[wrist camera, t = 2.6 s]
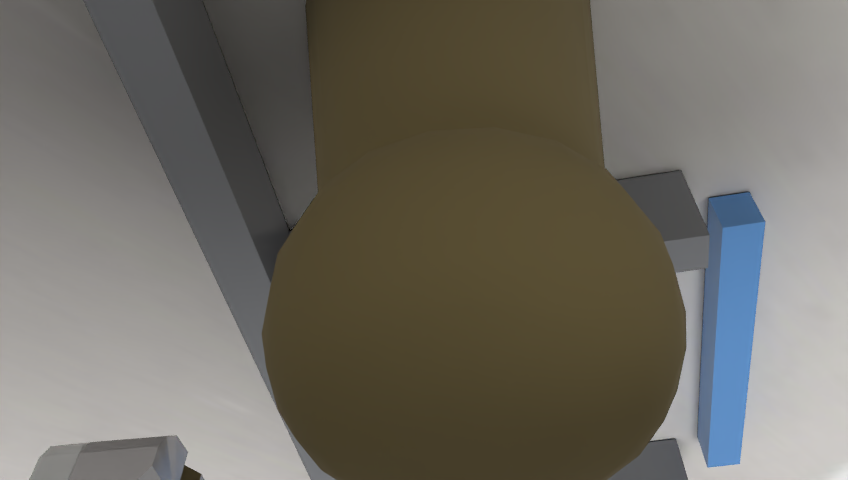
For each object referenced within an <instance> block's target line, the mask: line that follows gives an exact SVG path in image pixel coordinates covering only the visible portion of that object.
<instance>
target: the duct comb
mask: <svg viewBox="0 0 848 480" xmlns="http://www.w3.org/2000/svg"><path fill="white" fill-rule="evenodd" d="M83 1H84V3H85V5H86V7H87V9H88V11H89V14H90V16H91V18H92V20H93V22H94V24H95V26H96V28H97V30H98V32H99V35H100V37H101V39H102V41H103V43H104V45H105V47H106V49H107V51H108V54H109V56H110V58H111V60H112V62H113V64H114V66H115V68H116V70H117V72H118V75H119V77H120V79H121V81H122V83H123V85H124V87H125V89H126V91H127V94H128V96H129V98H130V100H131V102H132V104H133V106H134V108H135V110H136V112H137V115H138V117H139V119H140V121H141V123H142V125H143V127H144V129H145V131H146V134H147V136H148V138H149V140H150V142H151V144H152V146H153V148H154V150H155V152H156V155H157V157H158V159H159V161H160V163H161V165H162V167H163V169H164V171H165V173H166V176H167V178H168V180H169V182H170V184H171V186H172V188H173V190H174V192H175V195H176V197H177V199H178V201H179V203H180V205H181V207H182V209H183V211H184V213H185V216H186V218H187V220H188V222H189V224H190V226H191V228H192V230H193V232H194V235H195V237H196V239H197V241H198V243H199V245H200V247H201V249H202V251H203V253H204V256H205V258H206V260H207V262H208V264H209V266H210V268H211V270H212V272H213V275H214V277H215V279H216V281H217V283H218V285H219V287H220V289H221V291H222V293H223V296H224V298H225V300H226V302H227V304H228V306H229V308H230V310H231V312H232V315H233V317H234V319H235V321H236V323H237V325H238V327H239V329H240V331H241V333H242V336H243V338H244V340H245V342H246V344H247V346H248V348H249V350H250V352H251V355H252V357H253V359H254V361H255V363H256V365H257V367H258V369H259V371H260V373H261V376H262V378H263V380H264V382H265V384H266V386H267V388H268V390H269V392H270V395H271V397H272V399H273V401H274V403H275V405H276V402H275V398H274V394H273V391H272V387H271V384H270V380H269V376H268V373H267V369H266V363H265V356H264V348H263V341H262V328H263V323H264V318H265V312H266V307H267V302H268V296H269V291H270V286H271V281H272V277H273V272H274V268H275V263H276V259H277V254H278V252H279V250H280V249H281V247H282V246H283V244H284V243H285V241H286V239H287V238H288V236H289V235H290V233H291V232H292V231H289V230H288V227H287V224H286V222H285V219H284V216H283V214H282V211H281V209H280V206H279V203H278V201H277V198H276V195H275V193H274V190H273V187H272V185H271V182H270V179H269V177H268V174H267V171H266V169H265V166H264V163H263V161H262V158H261V156H260V153H259V150H258V148H257V145H256V142H255V140H254V137H253V134H252V132H251V129H250V126H249V124H248V121H247V118H246V116H245V113H244V110H243V108H242V105H241V103H240V100H239V97H238V95H237V92H236V89H235V87H234V84H233V81H232V79H231V76H230V73H229V71H228V68H227V65H226V63H225V60H224V57H223V55H222V52H221V49H220V47H219V44H218V42H217V39H216V36H215V34H214V31H213V28H212V26H211V23H210V20H209V18H208V15H207V12H206V10H205V7H204V4H203V2H202V0H83ZM616 181H617V182H618V183H619V184H620V185H621V186H622V187H623V188H624V189H625V191H626V192H627V193H628V194H629V195H630V197H631V198H632V199H633V200H634V201H635V203H636V204H637V205H638V206H639V207H640V209H641V210H642V211H643V212H644V213H645V215H646V216H647V217H648V218H649V219H650V221H651V222H652V223H653V224H654V225H655V227H656V228H657V229H658V230H659V232H660V233H661V235H662V238H663V240H664V243H665V245H666V248H667V250H668V253H669V255H670V258H671V260H672V263H673V266H674V270H675V273H676V272H683V271H690V270H697V269H704V268H705V287H704V308H703V329H702V351H701V372H700V393H699V414H698V435H697V437H698V440H699V443H700V446H701V449H702V452H703V455H704V458H705V461H706V464H707V467H716V466H725V465H734V464H740V456H741V447H742V437H743V428H744V418H745V409H746V399H747V390H748V380H749V371H750V361H751V352H752V343H753V333H754V324H755V314H756V305H757V295H758V286H759V276H760V267H761V257H762V248H763V238H764V229H765V220H764V218H763V217H762V215H761V213H760V211H759V209H758V207H757V205H756V204H755V202H754V200H753V198H752V196H751V194H750V192H746V193H740V194H733V195H726V196H720V197H713V198H709V203H708V224H707V228H706V225H705V223H704V221H703V219H702V216H701V214H700V212H699V209H698V207H697V205H696V203H695V200H694V198H693V196H692V194H691V191H690V189H689V187H688V185H687V182H686V180H685V178H684V176H683V173H682V171H675V172H668V173H662V174H655V175H649V176H642V177H636V178H629V179H623V180H616ZM276 407H277V405H276ZM280 416H281V414H280ZM281 418H282V416H281ZM282 420H283V422H284V424H285V426H286V428H287V430H288V432H289V435H290V437H291V439H292V441H293V443H294V445H295V447H296V449H297V451H298V453H299V456H300V458H301V460H302V462H303V464H304V466H305V468H306V470H307V472H308V475H309V477H310V479H311V480H336V479H334V478H333V477H331V476H330V475H328V474H326V473H325V472H323V471H322V470H321V469H320V468H319V467H318V466H317V464H316V463H315V462H314V461H313V460H312V458H311V457H310V456H309V455H308V453H307V452H306V451H305V450H304V449H303V447H302V446H301V445H300V444H299V442H298V441H297V440H296V439H295V437H294V436H293V434H292V432H291V431H290V429H289V427H288V426H287V424H286V422H285V421H284V419H283V418H282ZM608 480H688V478H687V474H686V471H685V468H684V464H683V461H682V458H681V454H680V451H679V448H678V444H677V441H676V439H672V440H664V441H655V442H649V443H648V444H647V446H646V447H645V448H644V450H643V451H642V453H641V454H640V455H639V456H638V457H637V458H635V459H634V460H633V461H631V462H630V463H629V464H627V465H626V466H625V467H623V468H622V469H621V470H619V471H618V472H617V473H615V474H614V475H613V476H612V477H610V478H609V479H608Z"/></svg>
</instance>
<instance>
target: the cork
mask: <svg viewBox="0 0 848 480" xmlns="http://www.w3.org/2000/svg"><path fill="white" fill-rule="evenodd" d="M305 7H306V21H307V36H308V51H309V66H310V81H311V96H312V110H313V125H314V140H315V155H316V170H317V184H318V193H317V195H316V196H315V198H314V199H313V201H312V202H311V203H310V205H309V206H308V208H307V209H306V211H305V212H304V214H303V215H302V217H301V218H300V220H299V221H298V222H297V224H296V225H295V227H294V228H293V230H292V232H291V233H290V235H289V236H288V238H287V239H286V241H285V243H284V244H283V246H282V247H281V249H280V250H279V252H278V254H277V259H276V263H275V268H274V272H273V277H272V281H271V286H270V291H269V296H268V302H267V307H266V312H265V318H264V323H263V328H262V341H263V348H264V356H265V363H266V369H267V373H268V376H269V380H270V384H271V387H272V391H273V394H274V398H275V402H276V405H277V409H278V411H279V413H280V414H281V416H282V418H283V419H284V421H285V422H286V424H287V426H288V427H289V429H290V431H291V432H292V434H293V436H294V437H295V439H296V440H297V441H298V442H299V444H300V445H301V446H302V447H303V449H304V450H305V451H306V452H307V453H308V455H309V456H310V457H311V458H312V460H313V461H314V462H315V463H316V464H317V466H318V467H319V468H320V469H321V470H322V471H323V472H325V473H326V474H328V475H330V476H331V477H333V478H334V479H336V480H608V479H609V478H610V477H612V476H613V475H614V474H615V473H617V472H618V471H619V470H621V469H622V468H623V467H625V466H626V465H627V464H629V463H630V462H631V461H633V460H634V459H635V458H637V457H638V456H639V455H640V454H641V453H642V451H643V450H644V448H645V447H646V446H647V444H648V443H649V441H650V440H651V439H652V437H653V436H654V434H655V433H656V431H657V430H658V429H659V427H660V426H661V424H662V423H663V422H664V420H665V417H666V415H667V413H668V410H669V408H670V406H671V404H672V401H673V399H674V397H675V394H676V392H677V389H678V384H679V379H680V375H681V370H682V365H683V360H684V356H685V351H686V311H685V307H684V304H683V300H682V296H681V292H680V289H679V285H678V281H677V277H676V273H675V270H674V266H673V263H672V260H671V258H670V255H669V253H668V250H667V248H666V245H665V243H664V240H663V238H662V235H661V233H660V232H659V230H658V229H657V228H656V227H655V225H654V224H653V223H652V222H651V221H650V219H649V218H648V217H647V216H646V215H645V213H644V212H643V211H642V210H641V209H640V207H639V206H638V205H637V204H636V203H635V201H634V200H633V199H632V198H631V197H630V195H629V194H628V193H627V192H626V191H625V189H624V188H623V187H622V186H621V185H620V184H619V183H618V182H617V181H616V179H615V178H614V177H613V176H612V175H611V174H610V173H609V172H608V171H607V169H605V168H604V157H603V145H602V134H601V122H600V111H599V100H598V88H597V77H596V65H595V54H594V42H593V31H592V20H591V8H590V0H306V5H305Z"/></svg>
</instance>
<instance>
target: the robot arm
mask: <svg viewBox="0 0 848 480" xmlns="http://www.w3.org/2000/svg"><path fill="white" fill-rule="evenodd" d="M187 453H188V451H187V450H186V448H185V447H184V446H183V444H182V443H181V441H180V440H179V438H178V437H177V435H174V436H161V437H149V438H136V439H124V440H112V441H100V442H89V443H79V444H69V445H59V446H51V447H50V448H49V449H48V450H47V451H46V452H45V453H44V454H43V455H42V456H41V457H40V458H39V459H38V462H37V464H36V466H35V468H34V470H33V473H32V475H31V477H30V479H29V480H204V478H203V476H202V474H200V473H198V472H196V471H195V470H193V469H191V468H189V467H187V466H185V465H184V464H185V460H186V457H187Z"/></svg>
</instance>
